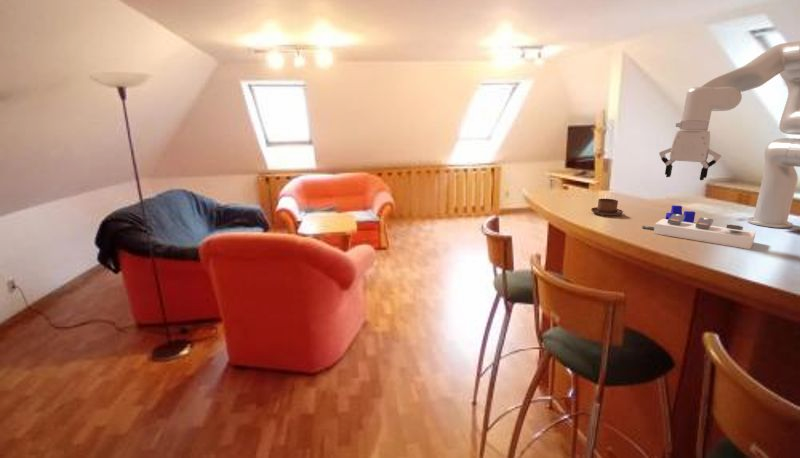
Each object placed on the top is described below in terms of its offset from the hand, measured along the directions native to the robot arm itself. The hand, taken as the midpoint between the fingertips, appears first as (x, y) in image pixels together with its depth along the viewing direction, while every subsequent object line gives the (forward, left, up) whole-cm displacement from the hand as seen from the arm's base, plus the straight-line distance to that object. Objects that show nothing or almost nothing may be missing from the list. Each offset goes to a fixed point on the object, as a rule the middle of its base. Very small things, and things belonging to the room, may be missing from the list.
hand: (684, 178), depth 138 cm
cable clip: (-15, -2, -19) cm, 25 cm away
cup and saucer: (-13, -27, -19) cm, 36 cm away
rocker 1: (+2, +8, -14) cm, 16 cm away
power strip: (+2, +6, -19) cm, 20 cm away
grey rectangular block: (+2, +16, -14) cm, 21 cm away
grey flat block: (+2, 0, -14) cm, 14 cm away
